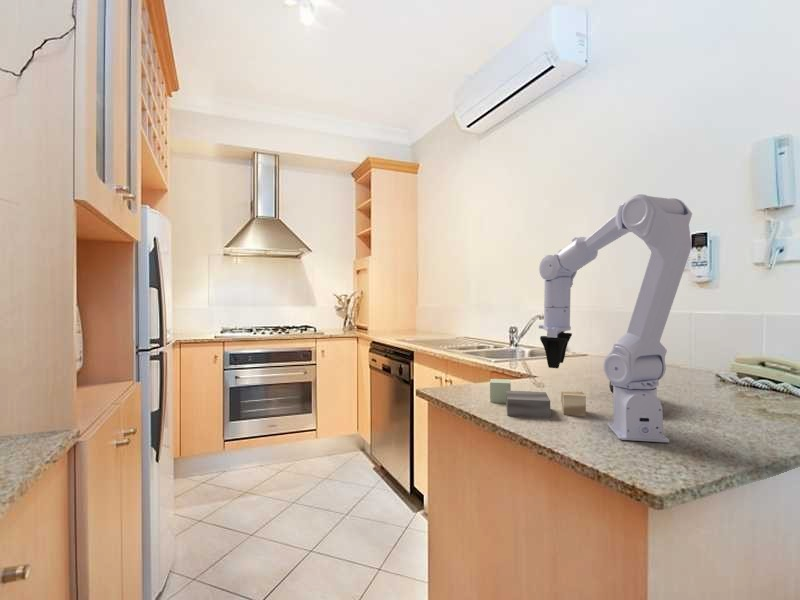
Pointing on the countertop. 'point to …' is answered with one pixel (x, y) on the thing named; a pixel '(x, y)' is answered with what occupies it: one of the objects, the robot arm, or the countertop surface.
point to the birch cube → (573, 403)
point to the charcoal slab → (527, 404)
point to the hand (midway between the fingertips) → (556, 365)
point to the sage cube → (499, 390)
